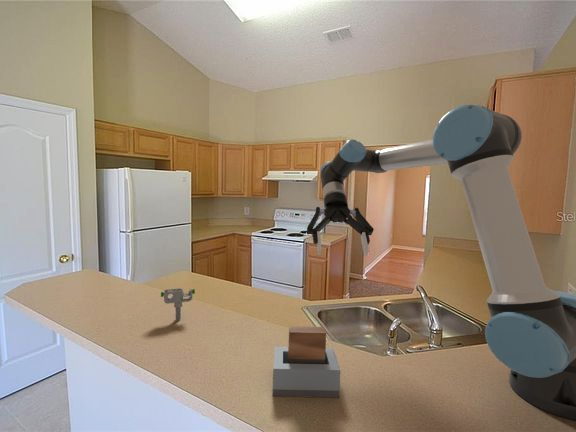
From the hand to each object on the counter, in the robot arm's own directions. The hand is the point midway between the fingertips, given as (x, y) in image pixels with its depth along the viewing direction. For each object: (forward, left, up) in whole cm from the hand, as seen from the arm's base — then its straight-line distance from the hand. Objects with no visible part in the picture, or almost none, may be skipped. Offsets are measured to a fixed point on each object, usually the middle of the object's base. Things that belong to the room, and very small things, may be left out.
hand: (343, 252), depth 87 cm
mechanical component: (+28, +44, -26) cm, 58 cm away
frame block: (-15, +18, -26) cm, 35 cm away
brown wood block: (-16, +18, -24) cm, 34 cm away
